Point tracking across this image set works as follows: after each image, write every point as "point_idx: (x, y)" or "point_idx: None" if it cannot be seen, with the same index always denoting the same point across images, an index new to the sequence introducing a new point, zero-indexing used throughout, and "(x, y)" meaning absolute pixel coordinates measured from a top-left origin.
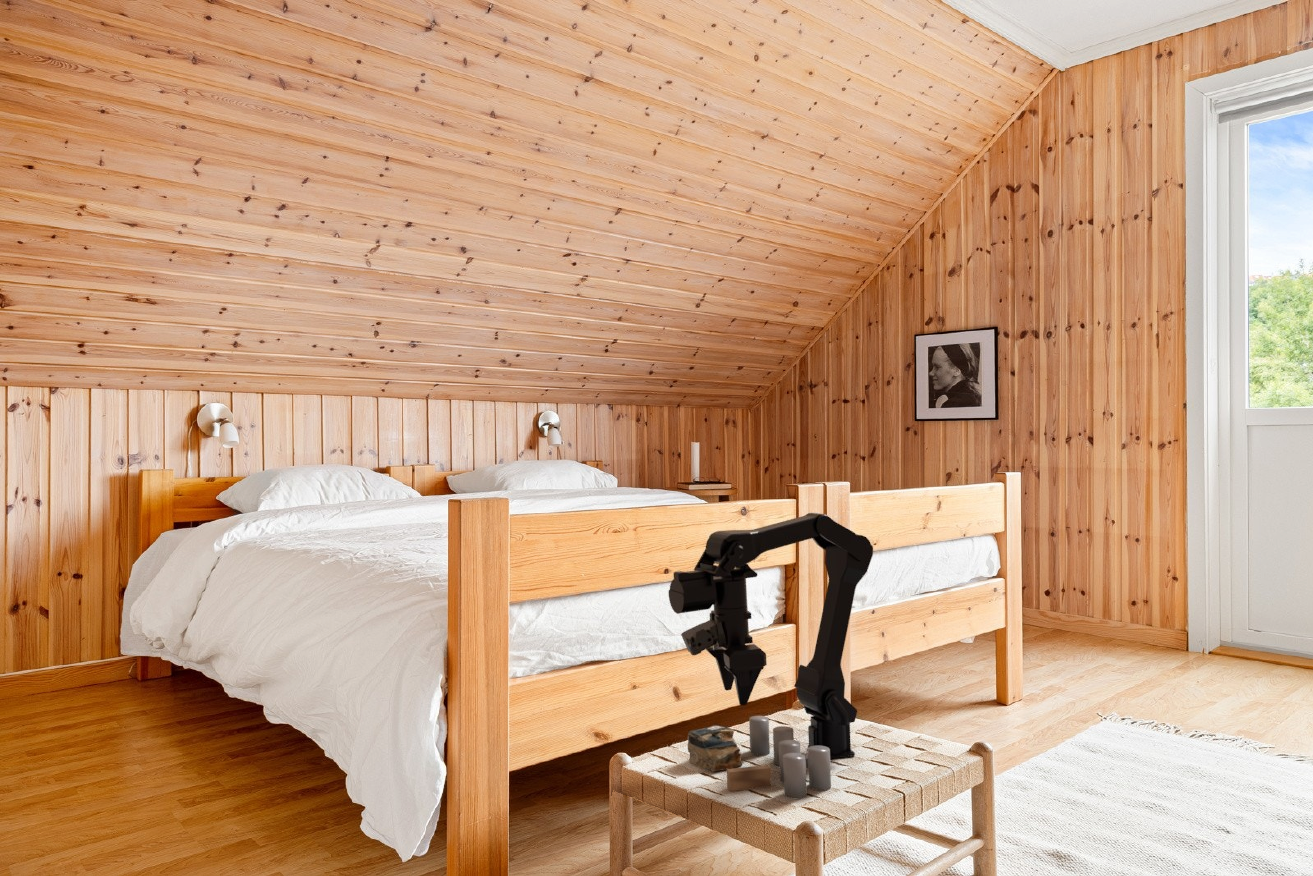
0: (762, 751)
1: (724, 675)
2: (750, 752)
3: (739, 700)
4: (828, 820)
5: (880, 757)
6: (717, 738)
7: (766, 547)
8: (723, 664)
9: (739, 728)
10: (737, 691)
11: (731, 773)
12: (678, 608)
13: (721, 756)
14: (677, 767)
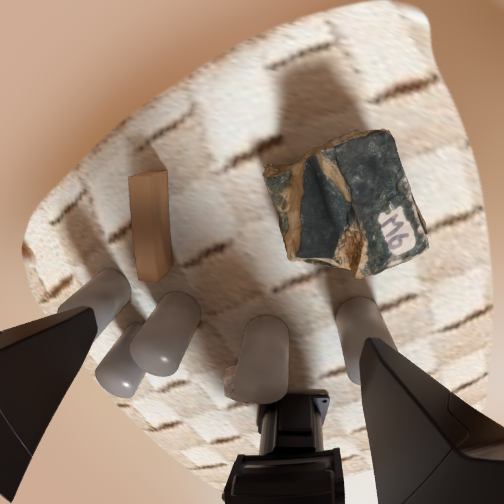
0: (337, 319)
1: (390, 395)
2: (363, 297)
3: (63, 311)
4: (37, 286)
5: (245, 446)
6: (347, 218)
7: None
8: (422, 454)
9: (487, 318)
10: (29, 326)
11: (130, 182)
12: None
13: (286, 201)
14: (338, 93)
